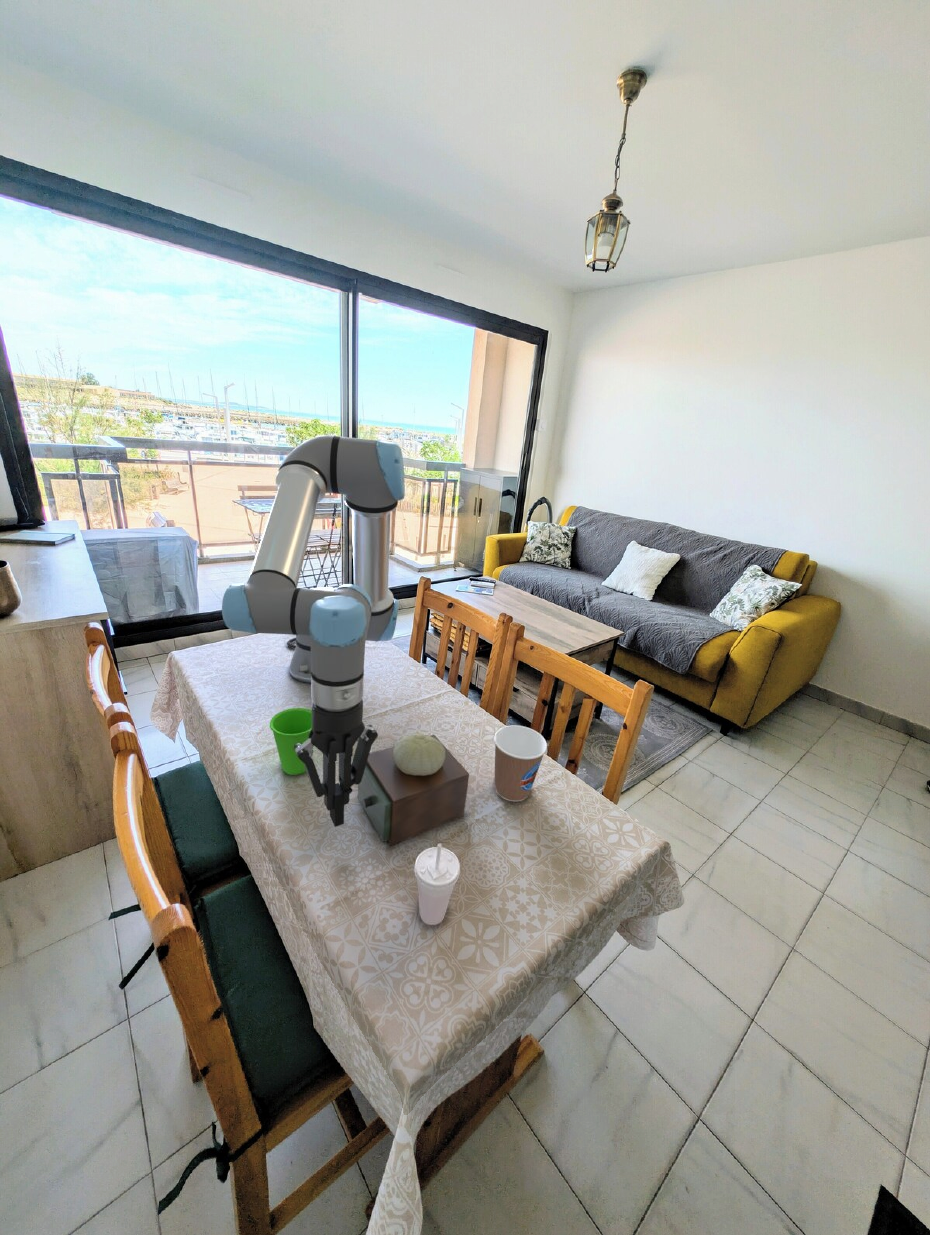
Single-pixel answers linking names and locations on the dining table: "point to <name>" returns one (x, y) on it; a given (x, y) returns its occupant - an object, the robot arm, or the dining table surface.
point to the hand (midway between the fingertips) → (336, 819)
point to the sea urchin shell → (419, 754)
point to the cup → (291, 736)
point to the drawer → (375, 803)
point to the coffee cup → (517, 761)
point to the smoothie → (435, 882)
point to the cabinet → (420, 794)
